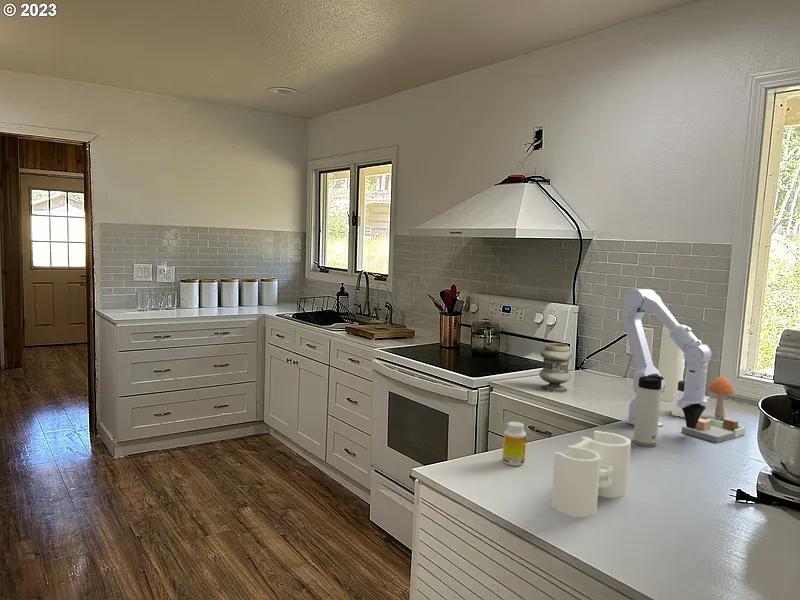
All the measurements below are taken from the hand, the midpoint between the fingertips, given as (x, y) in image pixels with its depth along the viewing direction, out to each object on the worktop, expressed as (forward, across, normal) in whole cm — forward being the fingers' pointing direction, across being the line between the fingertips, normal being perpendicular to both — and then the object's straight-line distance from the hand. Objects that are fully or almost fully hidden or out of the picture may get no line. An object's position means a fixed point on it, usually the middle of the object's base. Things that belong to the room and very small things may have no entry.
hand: (690, 427), depth 186 cm
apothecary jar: (+3, +8, +60) cm, 61 cm away
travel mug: (+3, -20, +2) cm, 20 cm away
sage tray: (+3, +15, -2) cm, 16 cm away
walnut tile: (0, +14, -4) cm, 14 cm away
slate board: (+3, +7, -2) cm, 8 cm away
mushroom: (+3, +29, +7) cm, 30 cm away
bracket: (+3, -67, -15) cm, 68 cm away
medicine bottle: (+3, +22, +15) cm, 27 cm away
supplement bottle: (+3, -67, +9) cm, 67 cm away
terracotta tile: (+1, +6, 0) cm, 6 cm away
